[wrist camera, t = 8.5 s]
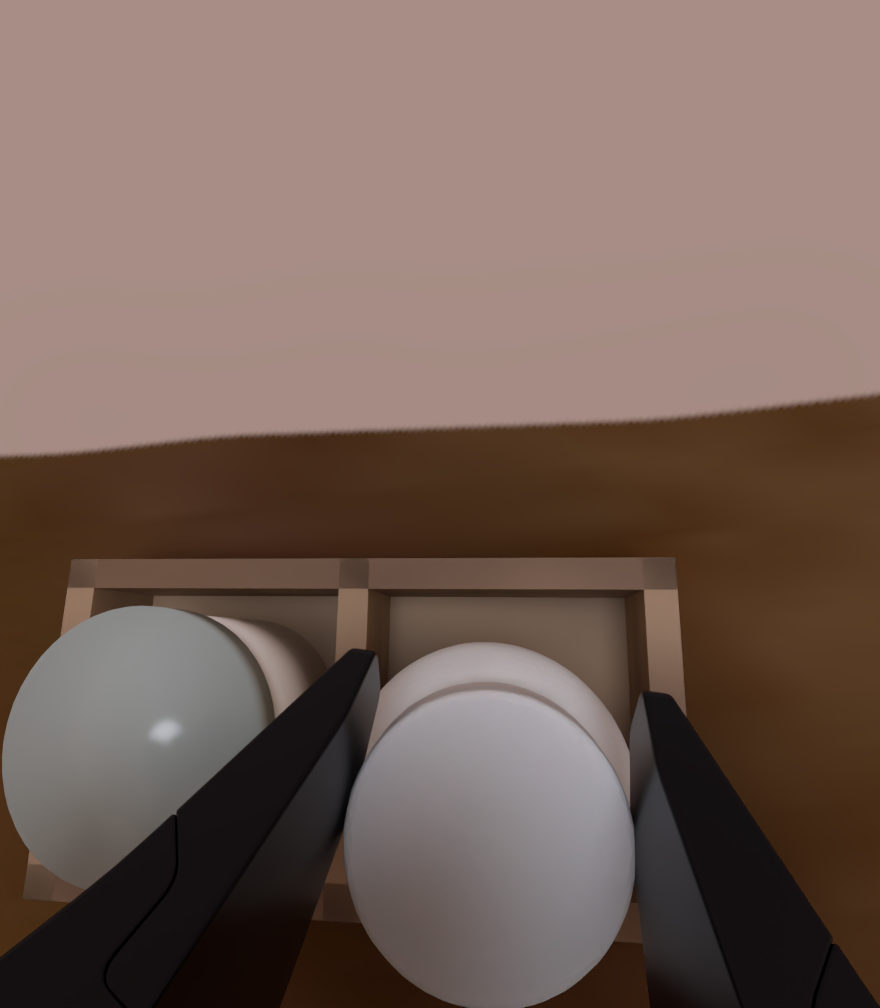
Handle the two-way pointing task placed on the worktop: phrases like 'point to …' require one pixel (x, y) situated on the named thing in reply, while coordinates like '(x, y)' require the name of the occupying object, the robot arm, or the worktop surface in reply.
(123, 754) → the jar
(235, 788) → the robot arm
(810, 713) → the worktop surface
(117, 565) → the crate
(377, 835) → the supplement bottle
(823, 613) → the worktop surface
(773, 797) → the worktop surface
